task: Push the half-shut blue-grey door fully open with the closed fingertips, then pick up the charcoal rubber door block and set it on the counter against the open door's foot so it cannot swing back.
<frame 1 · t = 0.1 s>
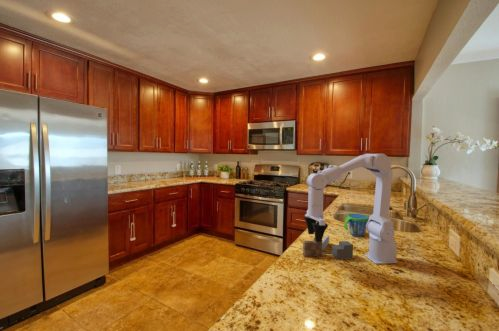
hand: (314, 237, 89), 10 cm above the countertop, fingers open, 7 cm apart
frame: (320, 253, 98), on the countertop
door: (323, 242, 104), point 2 cm above the countertop, hinge at 50.0°
wedge: (342, 257, 95), on the countertop
snack cup: (357, 234, 121), on the countertop
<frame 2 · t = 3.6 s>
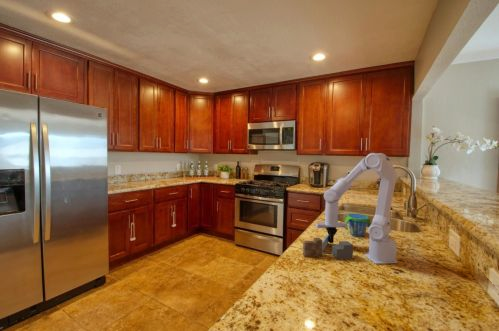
hand: (330, 242, 107), 1 cm above the countertop, fingers closed, pressing on door
door: (323, 242, 104), point 2 cm above the countertop, hinge at 51.1°, touching gripper
everything else where it was.
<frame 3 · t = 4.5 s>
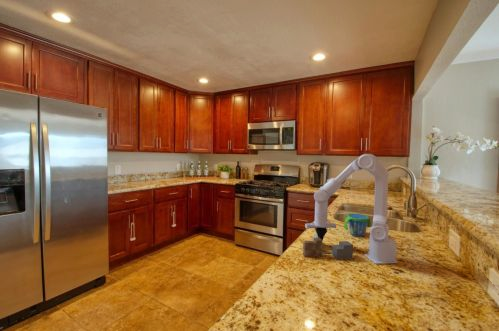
hand: (320, 242, 107), 1 cm above the countertop, fingers closed
door: (316, 242, 104), point 2 cm above the countertop, hinge at 77.3°, touching gripper
everything else where it was.
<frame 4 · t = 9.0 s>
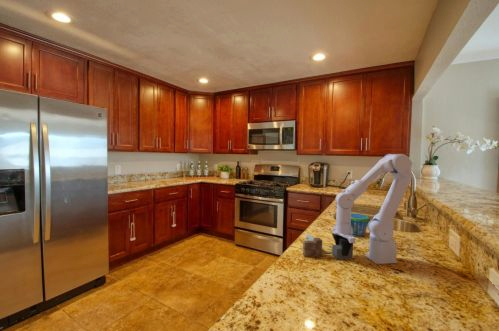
hand: (342, 253, 95), 2 cm above the countertop, fingers closed on wedge, 4 cm apart
door: (311, 242, 104), point 2 cm above the countertop, hinge at 94.7°
wedge: (342, 256, 95), on the countertop, touching gripper
everything else where it was.
when the fingers open (2 cm above the countertop, at t = 12.8 s): wedge stays where it is, on the countertop.
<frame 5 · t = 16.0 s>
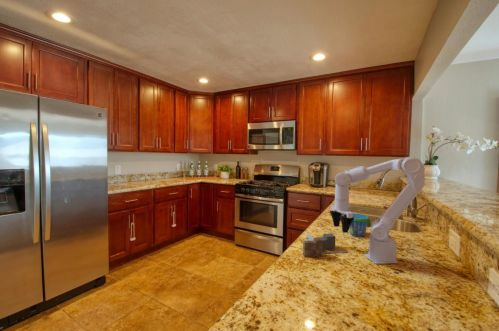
hand: (340, 229, 100), 10 cm above the countertop, fingers open, 7 cm apart
wedge: (325, 247, 104), on the countertop
everything else where it was.
at the end: door at +95° (first picture: +50°); wedge inside the target area (0.2 cm from its centre), on the countertop; wedge tilted 0° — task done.
